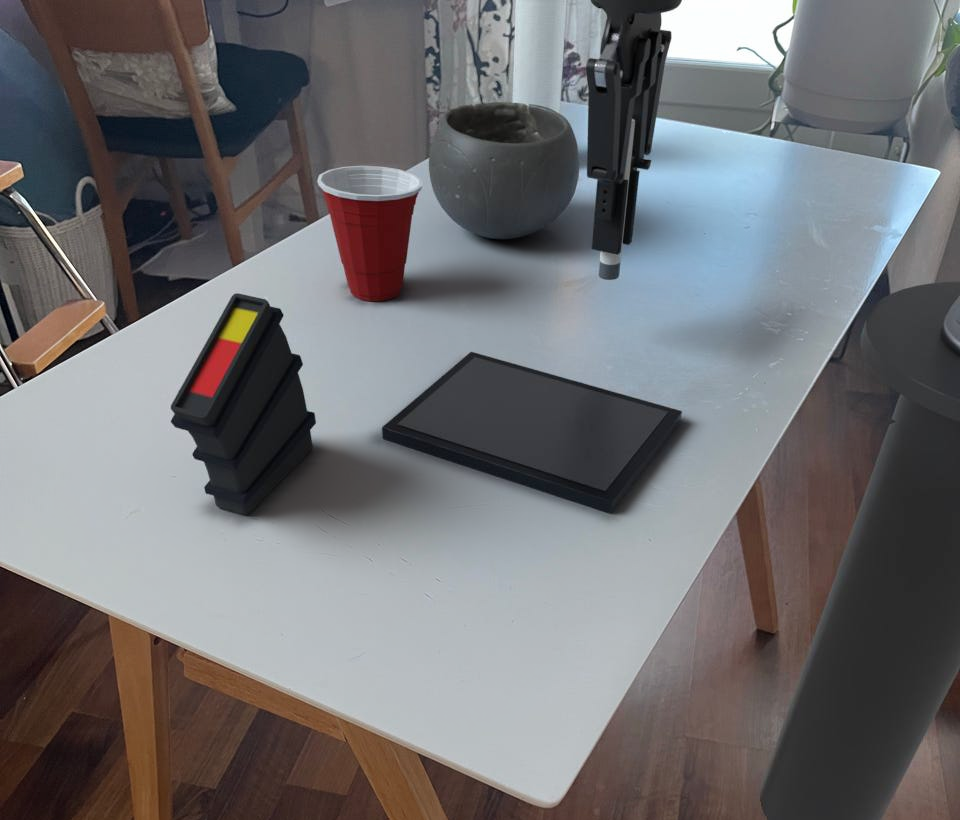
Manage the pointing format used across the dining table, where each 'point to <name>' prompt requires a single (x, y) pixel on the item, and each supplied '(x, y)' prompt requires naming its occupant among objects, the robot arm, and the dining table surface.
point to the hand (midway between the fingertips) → (611, 245)
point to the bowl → (503, 167)
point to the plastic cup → (371, 225)
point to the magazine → (245, 405)
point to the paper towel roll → (539, 52)
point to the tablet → (536, 429)
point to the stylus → (610, 261)
